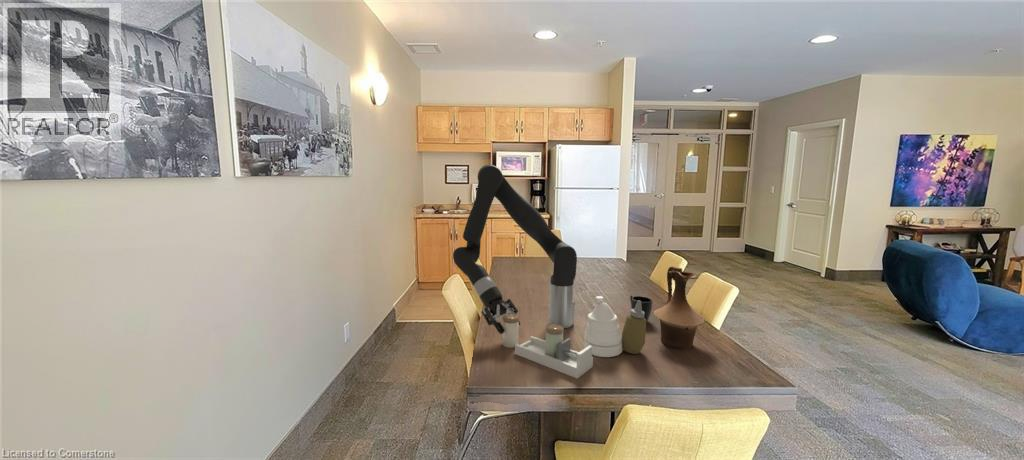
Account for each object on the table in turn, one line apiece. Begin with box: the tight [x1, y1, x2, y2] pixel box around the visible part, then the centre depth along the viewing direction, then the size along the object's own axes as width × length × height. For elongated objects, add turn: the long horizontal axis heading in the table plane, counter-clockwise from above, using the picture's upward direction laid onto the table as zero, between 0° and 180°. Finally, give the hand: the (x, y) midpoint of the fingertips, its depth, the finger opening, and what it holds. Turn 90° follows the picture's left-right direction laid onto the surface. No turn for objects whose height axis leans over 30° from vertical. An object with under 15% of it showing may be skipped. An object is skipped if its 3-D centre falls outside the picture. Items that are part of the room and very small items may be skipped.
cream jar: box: [502, 313, 520, 349], centre depth 135 cm, size 6×6×10 cm
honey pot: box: [583, 295, 623, 358], centre depth 132 cm, size 13×13×18 cm
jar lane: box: [514, 335, 594, 379], centre depth 124 cm, size 24×10×7 cm, turn 50°
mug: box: [629, 294, 653, 323], centre depth 161 cm, size 8×12×10 cm
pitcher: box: [653, 265, 706, 350], centre depth 138 cm, size 18×17×28 cm
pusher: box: [556, 337, 576, 361], centre depth 120 cm, size 5×7×6 cm
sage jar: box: [545, 324, 565, 358], centre depth 124 cm, size 6×6×10 cm
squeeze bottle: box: [621, 300, 647, 355], centre depth 131 cm, size 8×8×18 cm
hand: (510, 329), depth 135 cm, fingers open, 8 cm apart
